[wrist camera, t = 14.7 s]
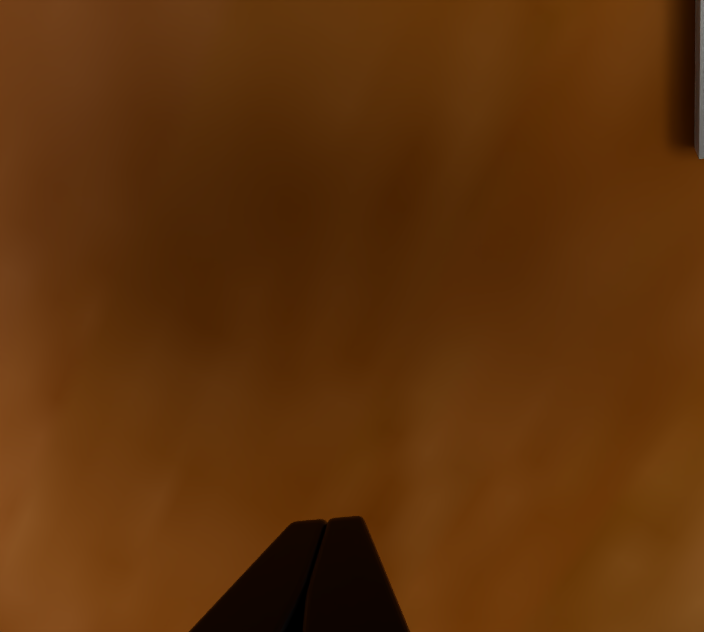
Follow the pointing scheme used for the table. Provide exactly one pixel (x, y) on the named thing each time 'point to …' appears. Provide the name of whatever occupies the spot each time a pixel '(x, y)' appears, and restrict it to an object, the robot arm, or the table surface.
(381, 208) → the table surface
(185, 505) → the table surface
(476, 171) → the table surface
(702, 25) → the grey domino block
